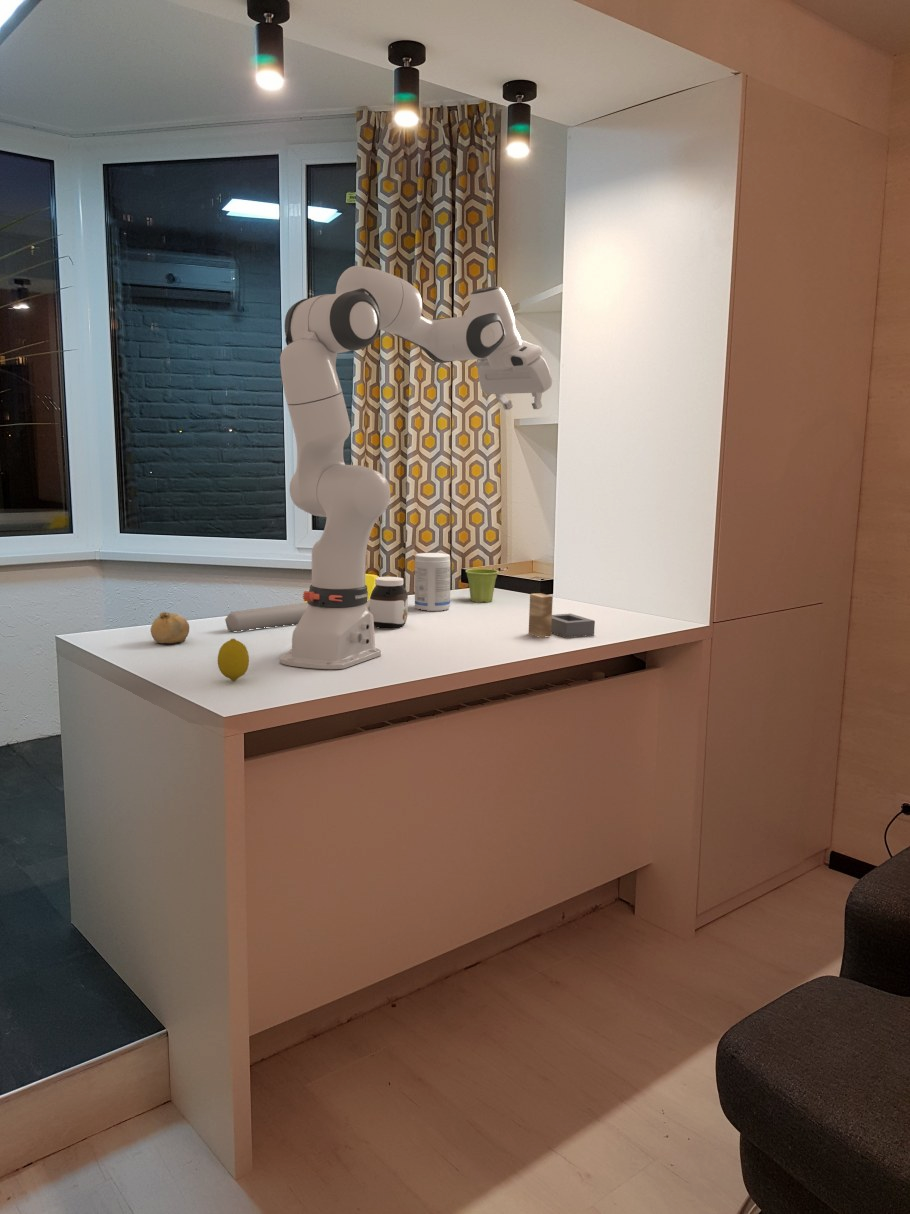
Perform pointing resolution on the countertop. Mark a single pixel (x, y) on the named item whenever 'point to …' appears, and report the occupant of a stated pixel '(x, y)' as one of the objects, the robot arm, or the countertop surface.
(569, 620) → the grey socket block
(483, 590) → the plant pot
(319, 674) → the countertop surface
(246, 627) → the tube
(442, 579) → the supplement tub
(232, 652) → the lemon
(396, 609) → the spread jar
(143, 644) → the countertop surface
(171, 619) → the onion
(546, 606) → the wooden block
